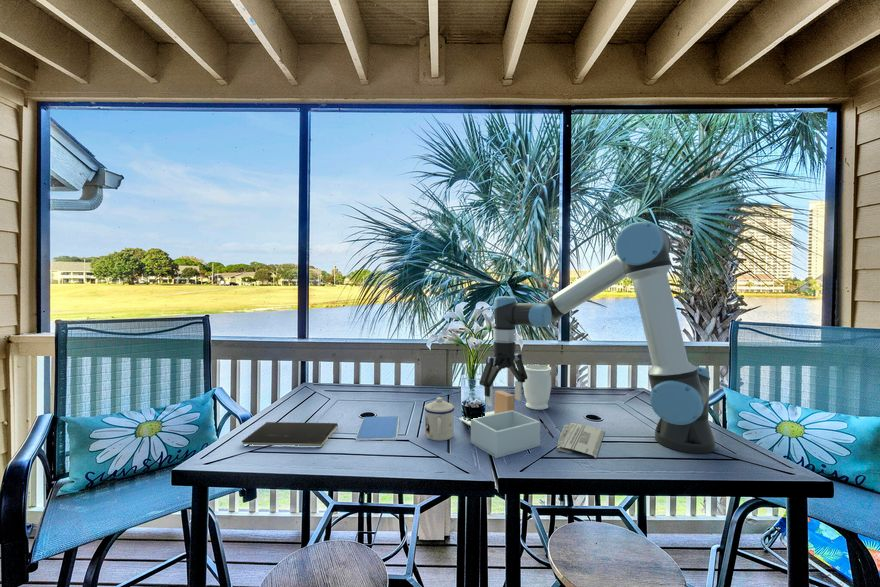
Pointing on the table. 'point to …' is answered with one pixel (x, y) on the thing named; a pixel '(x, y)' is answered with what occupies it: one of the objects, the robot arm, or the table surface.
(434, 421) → the teacup with lid
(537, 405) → the jar
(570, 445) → the newspaper
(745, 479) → the table surface
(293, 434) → the hardcover book
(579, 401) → the table surface
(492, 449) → the parts tub
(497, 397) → the lid
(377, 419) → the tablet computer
